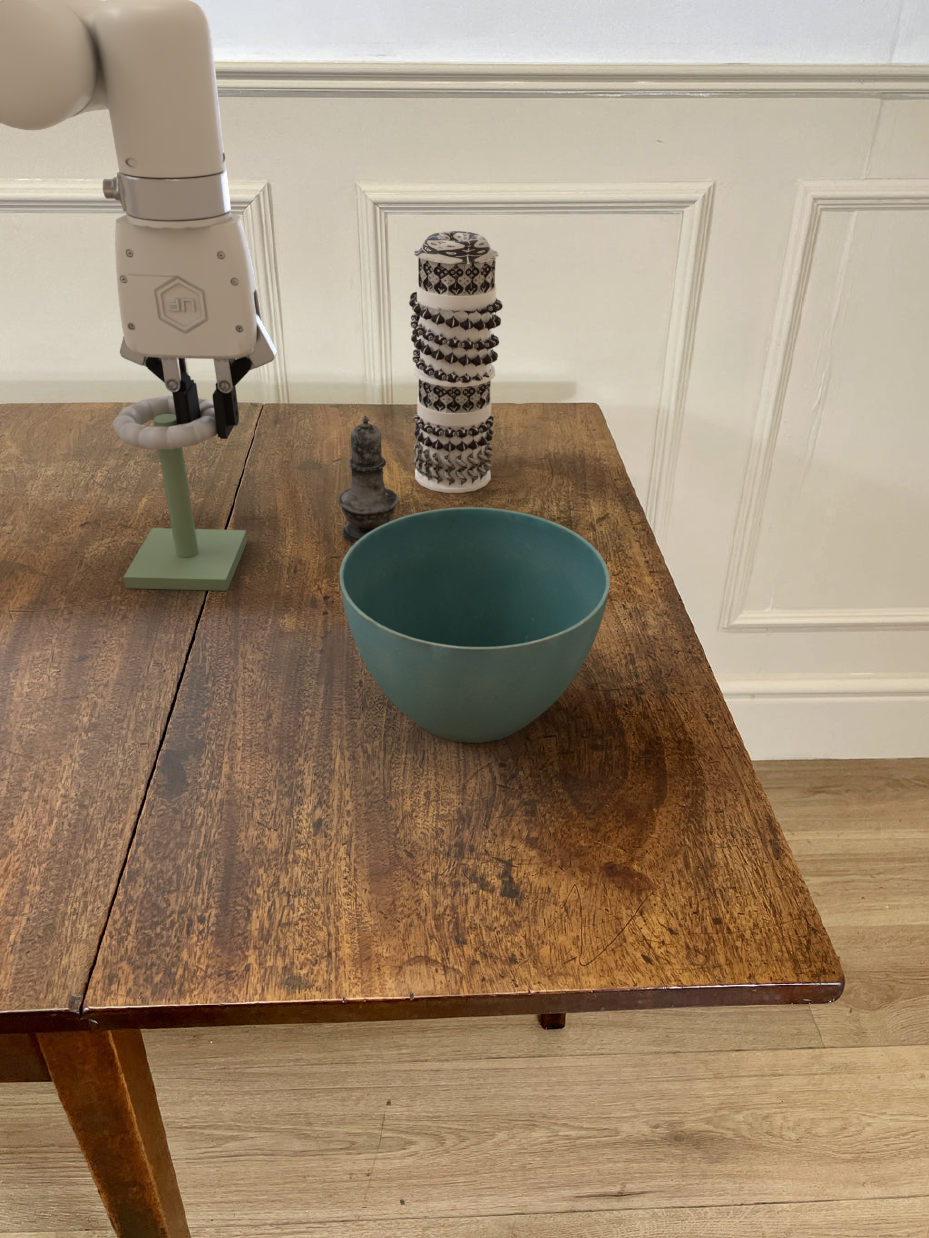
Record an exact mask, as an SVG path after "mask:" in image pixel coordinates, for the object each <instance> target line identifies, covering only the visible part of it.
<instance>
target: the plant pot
mask: <svg viewBox="0 0 929 1238" xmlns="http://www.w3.org/2000/svg"><path fill="white" fill-rule="evenodd" d="M339 585H340V586H339V587H340V594H341V599H342V604H343V608H344V612H345V616H346V620H347V623H348V627H349V630H350V633H351V635H352V638H353V641H354V644H355V646H356V648H357V650H358V652H359V655H360V657H361V659H362V660H363V663H364V665H365V666H366V668H367V670H368V672H369V673H370V675H371V676H372V678H373V679H374V681H375V683H376V684H377V686H378V687H379V688H380V690H381V691H382V692H383V694H384V695H385V696H386V697H387V698H388V700H390V702H391V703H393V705H394V706H395V708H397V709H398V710H399V711H400V712H402V713H403V714H404V715H405V716H406V717H408V719H409V720H411V721H412V722H413V723H415V724H416V725H417V726H419V727H421V729H423V730H425V731H426V732H428V733H430V734H432V735H434V736H436V737H439V738H441V739H444V740H447V741H453V742H457V743H465V744H466V743H467V744H479V743H480V744H481V743H482V744H483V743H489V742H494V741H501V740H503V739H506V738H508V737H510V736H512V735H514V734H515V733H517V732H519V731H520V730H523V729H525V727H526V726H528V725H530V724H531V723H533V722H534V721H535V720H537V719H538V718H539V717H540V716H541V715H543V714H544V713H545V712H546V711H547V710H548V709H550V707H551V706H552V705H554V703H556V702H557V701H558V700H559V698H560V697H561V696H562V695H563V694H564V692H565V691H566V690H567V689H568V687H569V686H570V685H571V683H572V682H573V681H574V680H575V678H576V677H577V675H578V673H579V672H580V670H581V668H582V667H583V664H584V663H585V661H586V660H587V658H588V655H589V653H590V651H591V649H592V647H593V645H594V642H595V640H596V638H597V637H598V636H597V635H598V633H599V630H600V627H601V624H602V622H603V618H604V614H605V611H606V607H607V603H608V599H609V593H610V587H611V574H610V571H609V567H608V564H607V563H606V561H605V559H604V558H603V556H602V555H601V553H600V552H599V551H598V550H597V548H595V547H594V546H593V544H591V542H589V541H588V540H587V539H586V538H584V537H583V536H581V535H580V534H579V533H577V532H575V531H573V530H572V529H570V528H568V527H565V526H563V525H562V524H559V523H558V522H554V521H552V520H549V519H546V518H544V517H540V516H537V515H534V514H529V513H526V512H520V511H516V510H511V509H503V508H493V507H479V506H478V507H477V506H462V507H461V506H460V507H447V508H439V509H430V510H425V511H420V512H416V513H412V514H411V513H410V514H408V515H404V516H401V517H399V518H395V519H393V520H389V522H388V523H386V524H383V525H381V526H379V527H377V528H376V529H374V530H372V531H370V532H369V533H367V534H366V535H364V536H363V537H361V538H360V539H359V540H358V541H357V542H356V543H354V544H353V545H351V547H350V548H349V549H348V551H347V552H346V554H345V555H344V557H343V559H342V562H341V563H340V568H339Z"/></svg>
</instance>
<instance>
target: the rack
mask: <svg viewBox="0 0 929 1238" xmlns="http://www.w3.org/2000/svg"><path fill="white" fill-rule="evenodd" d="M152 421H153V427H170V426H176V425H180V424H178V423H177V420H176V415H173V414H162V415H158V416H156V417H154V419H153V420H152ZM157 450H158V451H157V452H158V455H159V461H160V467H161V473H162V479H163V485H164V491H165V497H166V501H167V508H168V516H169V520H170V527H171V528H168V527H167V528H165V527H152V528H151V529H150V531H149V533H148V534H147V536H146V537H145V540H144V541H143V543H142V544H141V546H140V548H139V550H138V552H137V553H136V554H135V556H134V558H133V559H132V562H131V563H130V565H129V567H128V568H127V570H126V572H125V574H124V575H123V577H122V578H123V583H124V587H125V589H134V590H135V589H136V590H137V589H138V590H174V591H175V590H176V591H177V590H178V591H214V592H215V591H216V592H217V591H218V592H219V591H220V592H228V591H229V588H230V585H231V583H232V581H233V578H234V576H235V573H236V570H237V568H238V565H239V564H240V560H241V558H242V556H243V553H244V550H245V548H246V546H247V543H248V534H247V530H246V529H207V528H196V526H195V518H194V512H193V506H192V500H191V494H190V485H189V481H188V473H187V468H186V461H185V455H184V447H182V448H177V449H157Z"/></svg>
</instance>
